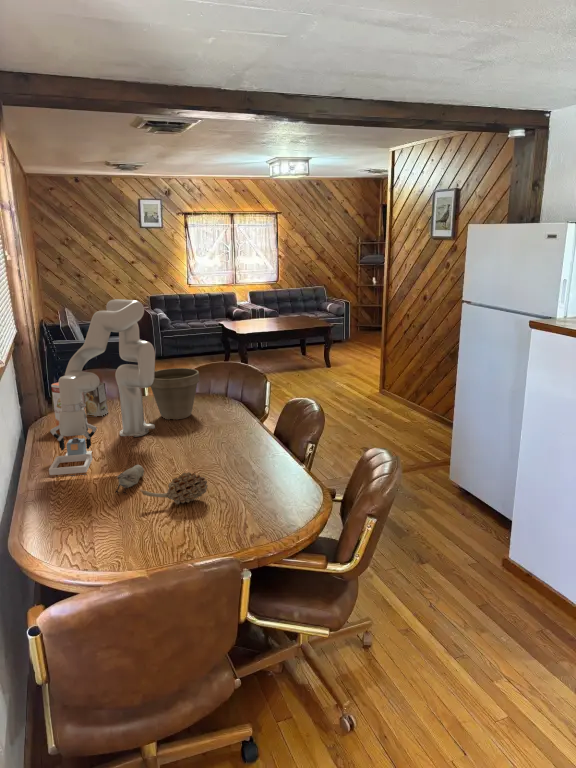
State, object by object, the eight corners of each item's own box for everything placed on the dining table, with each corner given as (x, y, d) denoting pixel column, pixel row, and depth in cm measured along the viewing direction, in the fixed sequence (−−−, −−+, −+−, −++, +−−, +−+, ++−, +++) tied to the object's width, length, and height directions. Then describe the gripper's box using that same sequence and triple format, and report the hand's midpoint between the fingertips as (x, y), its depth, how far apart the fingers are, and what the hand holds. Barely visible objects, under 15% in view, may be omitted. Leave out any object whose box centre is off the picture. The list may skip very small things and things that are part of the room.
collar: (86, 452, 228) (85, 438, 227) (83, 458, 222) (81, 444, 220) (71, 453, 227) (69, 439, 226) (67, 460, 221) (65, 445, 219)
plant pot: (145, 412, 285) (142, 370, 279) (193, 405, 295) (190, 365, 289) (156, 426, 263) (153, 381, 257) (207, 418, 273) (205, 375, 267)
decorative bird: (148, 478, 206) (146, 459, 204) (127, 497, 191) (125, 477, 189) (134, 476, 207) (133, 458, 205) (112, 496, 192) (110, 476, 190)
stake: (92, 453, 230) (90, 434, 228) (88, 461, 222) (86, 441, 220) (67, 455, 229) (64, 435, 227) (62, 463, 220) (59, 443, 218)
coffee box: (109, 413, 284) (106, 382, 280) (101, 417, 278) (98, 385, 274) (93, 412, 287) (90, 381, 283) (85, 415, 281) (82, 384, 277)
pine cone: (206, 492, 193) (204, 465, 191) (210, 504, 184) (209, 476, 182) (139, 502, 187) (137, 474, 184) (141, 515, 178) (139, 486, 175)
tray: (92, 462, 221) (91, 453, 221) (86, 475, 209) (85, 466, 208) (57, 464, 219) (56, 456, 219) (49, 478, 207) (48, 469, 206)
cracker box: (55, 427, 264) (50, 384, 259) (66, 423, 269) (60, 381, 264) (77, 431, 258) (71, 387, 253) (87, 427, 263) (82, 384, 258)
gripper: (96, 403, 225) (99, 444, 229) (50, 405, 222) (55, 446, 226) (93, 408, 218) (96, 450, 222) (45, 411, 215) (50, 453, 219)
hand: (75, 448), depth 224 cm, fingers open, 9 cm apart
